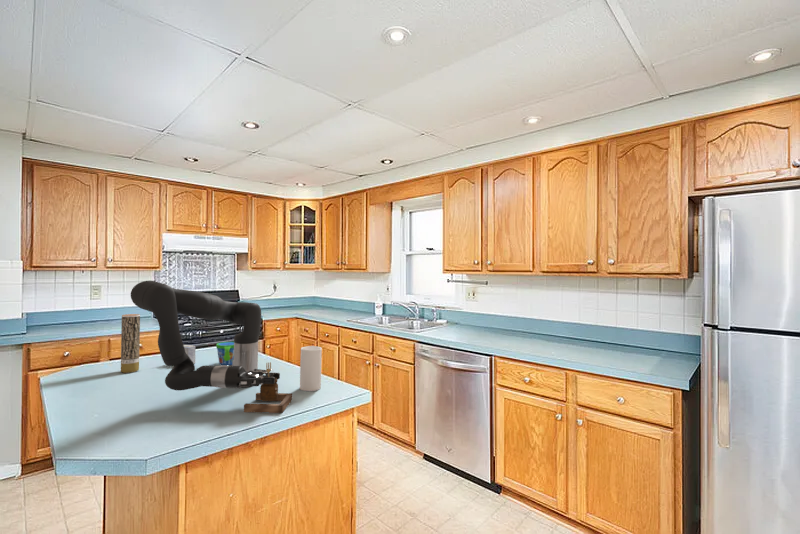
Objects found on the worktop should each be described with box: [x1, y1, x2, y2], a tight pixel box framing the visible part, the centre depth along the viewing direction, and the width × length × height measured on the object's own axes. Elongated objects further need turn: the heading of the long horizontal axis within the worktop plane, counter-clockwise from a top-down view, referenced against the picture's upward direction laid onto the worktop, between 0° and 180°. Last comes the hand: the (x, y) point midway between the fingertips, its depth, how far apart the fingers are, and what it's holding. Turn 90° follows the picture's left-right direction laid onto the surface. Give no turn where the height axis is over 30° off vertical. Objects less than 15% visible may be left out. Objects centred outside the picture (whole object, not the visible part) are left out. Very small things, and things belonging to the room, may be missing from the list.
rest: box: [243, 392, 293, 414], centre depth 141 cm, size 13×13×2 cm
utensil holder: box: [259, 361, 279, 402], centre depth 141 cm, size 6×6×12 cm
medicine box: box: [183, 344, 196, 365], centre depth 195 cm, size 8×4×9 cm, turn 71°
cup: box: [299, 345, 323, 392], centre depth 163 cm, size 8×8×16 cm
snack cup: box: [215, 341, 234, 366], centre depth 196 cm, size 16×10×10 cm
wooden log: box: [120, 313, 141, 374], centre depth 180 cm, size 7×7×25 cm
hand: (276, 378), depth 141 cm, fingers closed on utensil holder, 5 cm apart
